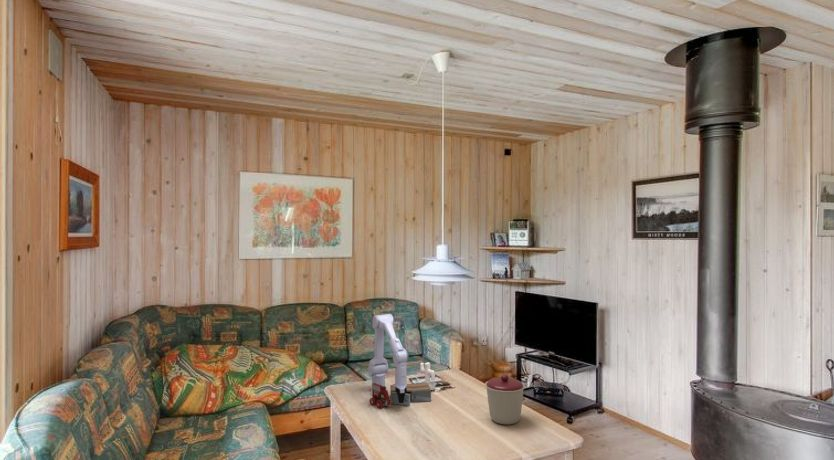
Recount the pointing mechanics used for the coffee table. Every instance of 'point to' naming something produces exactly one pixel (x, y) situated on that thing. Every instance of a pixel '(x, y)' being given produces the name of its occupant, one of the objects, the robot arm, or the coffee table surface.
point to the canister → (505, 399)
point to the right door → (395, 401)
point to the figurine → (428, 374)
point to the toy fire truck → (379, 396)
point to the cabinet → (416, 392)
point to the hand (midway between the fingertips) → (401, 402)
